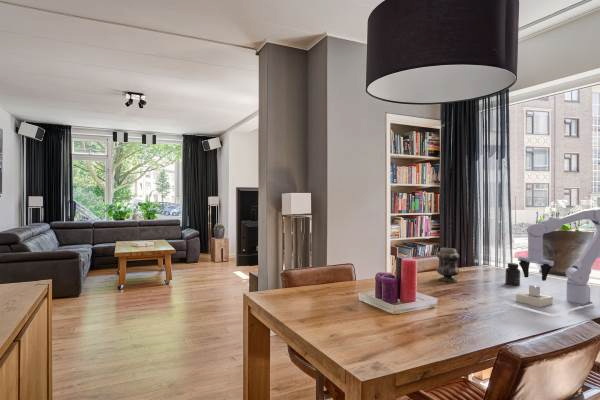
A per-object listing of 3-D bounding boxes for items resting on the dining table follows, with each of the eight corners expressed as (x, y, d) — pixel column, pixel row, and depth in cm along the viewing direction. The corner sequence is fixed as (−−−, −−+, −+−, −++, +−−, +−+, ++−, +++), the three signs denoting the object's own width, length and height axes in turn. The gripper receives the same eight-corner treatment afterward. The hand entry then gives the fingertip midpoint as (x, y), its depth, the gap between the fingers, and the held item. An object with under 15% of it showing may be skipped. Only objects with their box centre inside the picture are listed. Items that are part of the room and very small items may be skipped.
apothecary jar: (460, 279, 206) (461, 248, 206) (457, 284, 196) (457, 250, 196) (438, 277, 213) (438, 246, 212) (434, 281, 202) (434, 249, 202)
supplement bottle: (519, 288, 188) (519, 265, 187) (504, 286, 192) (504, 263, 192) (520, 285, 193) (521, 263, 193) (506, 283, 197) (506, 262, 197)
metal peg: (531, 300, 162) (531, 284, 162) (541, 302, 159) (541, 286, 159) (527, 301, 160) (527, 286, 160) (537, 304, 156) (537, 287, 156)
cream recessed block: (524, 294, 176) (524, 285, 176) (565, 303, 161) (565, 294, 161) (499, 299, 167) (499, 290, 167) (541, 310, 151) (541, 300, 151)
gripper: (514, 248, 171) (514, 276, 171) (548, 252, 159) (547, 283, 159) (522, 247, 175) (522, 275, 175) (556, 251, 162) (555, 281, 163)
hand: (535, 278), depth 167 cm, fingers open, 7 cm apart
